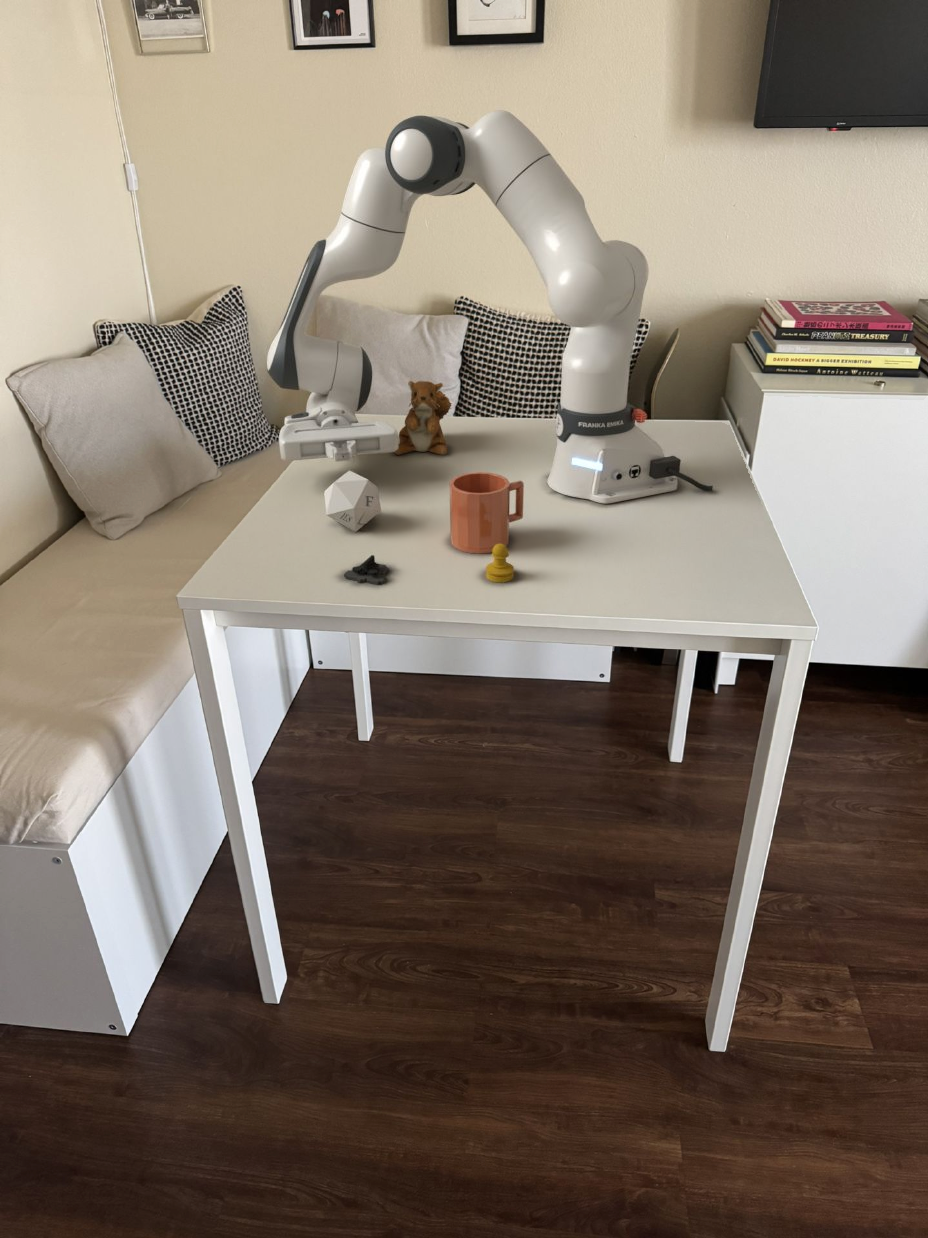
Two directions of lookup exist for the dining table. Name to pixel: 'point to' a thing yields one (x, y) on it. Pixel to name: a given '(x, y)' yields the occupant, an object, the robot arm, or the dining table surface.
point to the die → (352, 501)
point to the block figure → (368, 572)
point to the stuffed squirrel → (424, 420)
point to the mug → (482, 511)
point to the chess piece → (499, 565)
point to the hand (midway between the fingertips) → (343, 456)
